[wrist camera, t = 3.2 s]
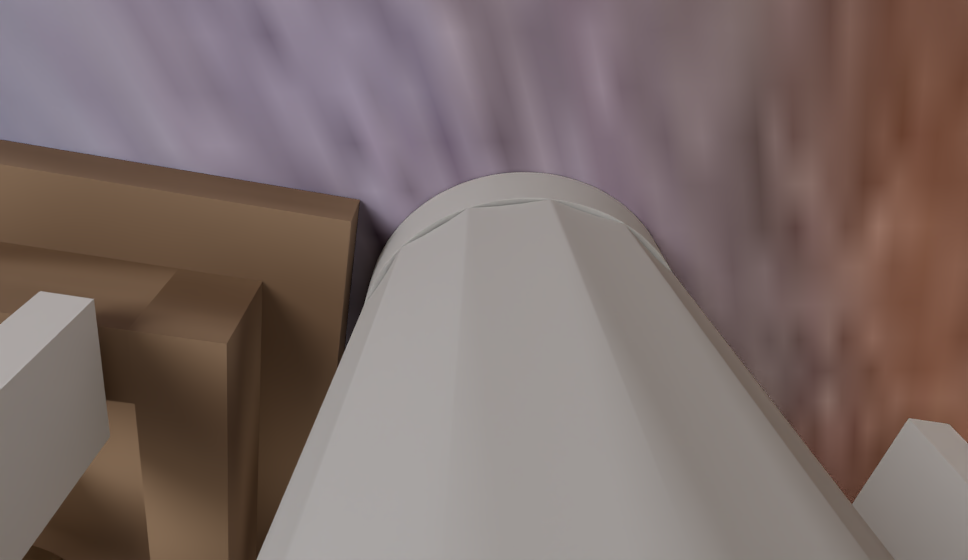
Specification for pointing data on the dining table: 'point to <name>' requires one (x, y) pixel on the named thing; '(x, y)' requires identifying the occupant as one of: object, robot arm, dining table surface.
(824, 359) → the dining table surface
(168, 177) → the peg stand
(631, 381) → the cup
